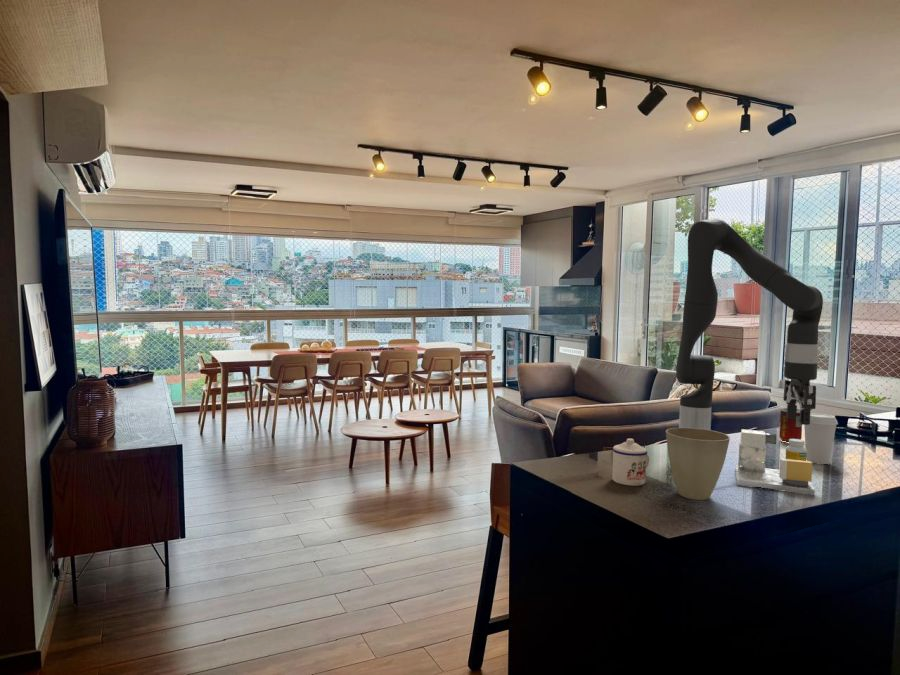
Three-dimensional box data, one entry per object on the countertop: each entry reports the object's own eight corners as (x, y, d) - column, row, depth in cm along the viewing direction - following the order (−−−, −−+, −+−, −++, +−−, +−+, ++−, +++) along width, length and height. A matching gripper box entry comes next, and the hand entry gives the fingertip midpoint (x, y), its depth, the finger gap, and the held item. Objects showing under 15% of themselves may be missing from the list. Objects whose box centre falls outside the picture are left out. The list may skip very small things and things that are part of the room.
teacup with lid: (630, 488, 154) (631, 444, 154) (604, 479, 162) (605, 437, 161) (660, 482, 160) (662, 439, 160) (634, 473, 168) (636, 433, 168)
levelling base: (736, 485, 159) (739, 439, 159) (735, 469, 176) (737, 428, 175) (814, 495, 152) (816, 447, 151) (805, 478, 168) (807, 434, 168)
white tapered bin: (803, 463, 185) (805, 416, 184) (797, 456, 194) (800, 411, 193) (838, 467, 181) (841, 419, 180) (831, 460, 190) (834, 414, 189)
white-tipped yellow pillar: (807, 481, 159) (808, 459, 159) (813, 487, 153) (814, 464, 153) (777, 478, 161) (778, 456, 161) (782, 484, 155) (783, 461, 155)
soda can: (804, 442, 216) (806, 409, 215) (795, 445, 212) (797, 411, 211) (784, 439, 222) (786, 406, 221) (775, 441, 217) (777, 408, 217)
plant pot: (654, 495, 148) (657, 433, 147) (675, 483, 160) (677, 425, 159) (716, 509, 139) (720, 442, 138) (734, 495, 150) (737, 433, 149)
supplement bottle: (790, 468, 178) (792, 437, 178) (809, 473, 174) (810, 441, 173) (781, 471, 175) (782, 439, 175) (800, 475, 171) (801, 442, 170)
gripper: (829, 363, 148) (825, 427, 149) (804, 359, 162) (801, 417, 163) (796, 362, 150) (793, 425, 150) (775, 358, 164) (772, 415, 164)
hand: (797, 421), depth 157 cm, fingers open, 8 cm apart
